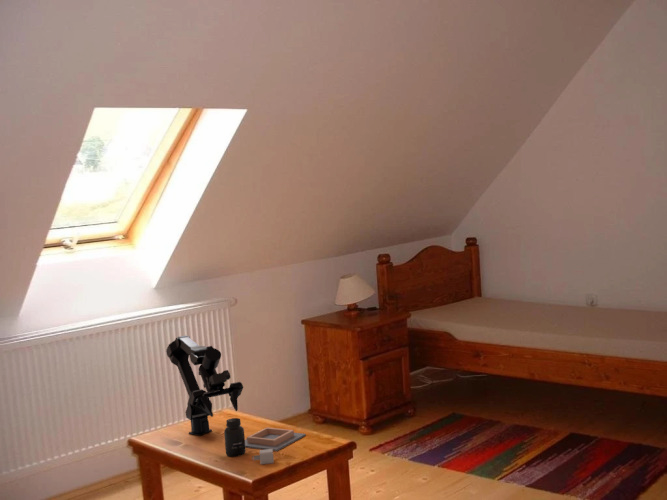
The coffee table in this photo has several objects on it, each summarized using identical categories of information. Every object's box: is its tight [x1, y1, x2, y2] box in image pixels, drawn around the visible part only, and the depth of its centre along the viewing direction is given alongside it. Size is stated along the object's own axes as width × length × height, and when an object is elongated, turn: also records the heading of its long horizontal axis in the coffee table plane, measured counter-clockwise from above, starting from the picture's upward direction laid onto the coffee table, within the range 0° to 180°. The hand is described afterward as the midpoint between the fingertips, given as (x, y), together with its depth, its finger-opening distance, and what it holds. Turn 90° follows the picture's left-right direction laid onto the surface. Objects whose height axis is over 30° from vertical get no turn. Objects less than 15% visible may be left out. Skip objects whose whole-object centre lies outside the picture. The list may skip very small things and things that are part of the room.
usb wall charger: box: [251, 449, 275, 466], centre depth 262 cm, size 4×7×4 cm, turn 95°
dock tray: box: [245, 427, 306, 452], centre depth 285 cm, size 18×18×3 cm
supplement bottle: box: [223, 417, 246, 458], centre depth 273 cm, size 7×7×12 cm
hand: (224, 413), depth 279 cm, fingers open, 9 cm apart
